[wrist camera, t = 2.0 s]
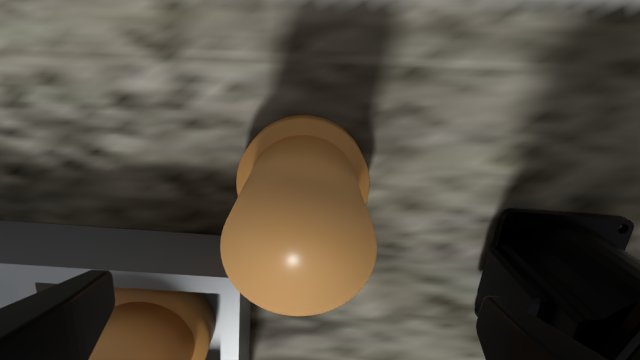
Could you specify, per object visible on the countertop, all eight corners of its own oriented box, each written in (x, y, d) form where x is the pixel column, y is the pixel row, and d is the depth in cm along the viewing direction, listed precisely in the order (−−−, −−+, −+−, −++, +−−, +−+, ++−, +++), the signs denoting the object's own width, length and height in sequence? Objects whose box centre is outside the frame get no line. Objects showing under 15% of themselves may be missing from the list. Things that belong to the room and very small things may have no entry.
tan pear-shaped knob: (372, 120, 17) (412, 166, 10) (357, 234, 19) (381, 336, 12) (243, 109, 16) (197, 149, 10) (241, 226, 18) (201, 326, 12)
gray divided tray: (252, 237, 18) (226, 320, 13) (248, 376, 21) (225, 493, 16) (-113, 212, 18) (-315, 289, 12) (-64, 360, 21) (-207, 478, 15)
